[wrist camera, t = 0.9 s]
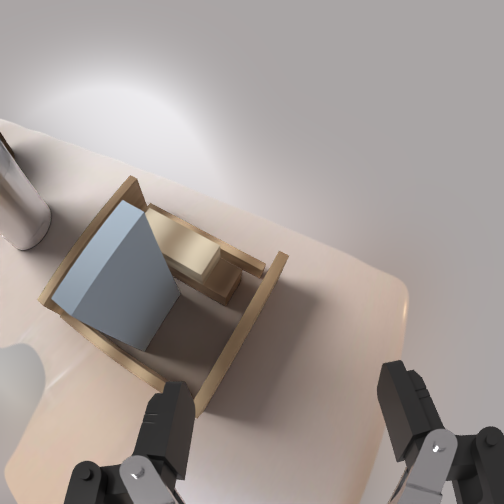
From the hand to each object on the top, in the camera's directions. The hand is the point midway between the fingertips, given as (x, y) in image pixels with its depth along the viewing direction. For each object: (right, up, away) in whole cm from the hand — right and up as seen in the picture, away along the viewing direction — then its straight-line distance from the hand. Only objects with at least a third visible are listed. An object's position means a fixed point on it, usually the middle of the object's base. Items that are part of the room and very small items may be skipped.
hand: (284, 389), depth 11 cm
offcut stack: (-10, +3, +29) cm, 31 cm away
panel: (-14, -3, +26) cm, 30 cm away
